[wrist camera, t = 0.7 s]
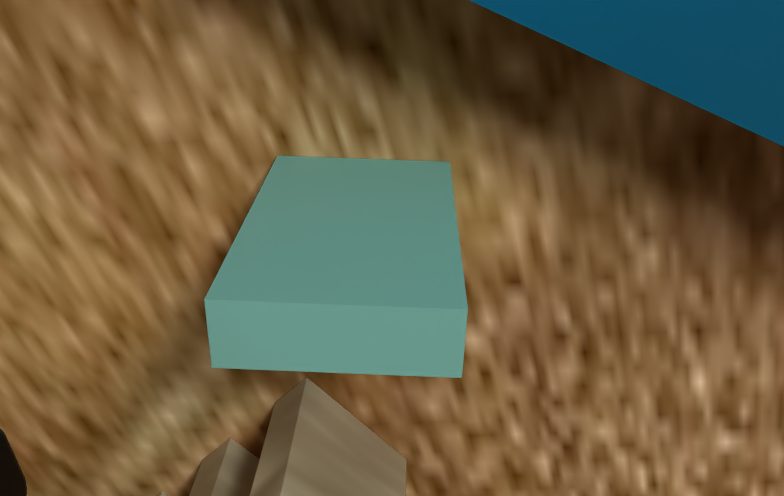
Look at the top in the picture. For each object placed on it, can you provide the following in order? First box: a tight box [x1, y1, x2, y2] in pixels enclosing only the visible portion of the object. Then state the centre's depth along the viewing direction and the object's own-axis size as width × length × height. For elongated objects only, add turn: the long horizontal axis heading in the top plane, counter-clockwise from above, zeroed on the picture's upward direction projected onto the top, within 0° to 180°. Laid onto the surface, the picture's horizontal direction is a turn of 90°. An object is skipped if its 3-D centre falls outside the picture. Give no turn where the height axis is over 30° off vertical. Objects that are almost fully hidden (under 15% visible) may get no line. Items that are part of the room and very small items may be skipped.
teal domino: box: [204, 156, 468, 378], centre depth 17 cm, size 2×5×8 cm, turn 89°
